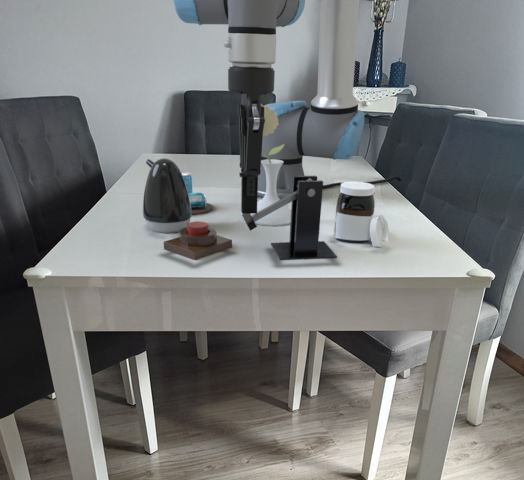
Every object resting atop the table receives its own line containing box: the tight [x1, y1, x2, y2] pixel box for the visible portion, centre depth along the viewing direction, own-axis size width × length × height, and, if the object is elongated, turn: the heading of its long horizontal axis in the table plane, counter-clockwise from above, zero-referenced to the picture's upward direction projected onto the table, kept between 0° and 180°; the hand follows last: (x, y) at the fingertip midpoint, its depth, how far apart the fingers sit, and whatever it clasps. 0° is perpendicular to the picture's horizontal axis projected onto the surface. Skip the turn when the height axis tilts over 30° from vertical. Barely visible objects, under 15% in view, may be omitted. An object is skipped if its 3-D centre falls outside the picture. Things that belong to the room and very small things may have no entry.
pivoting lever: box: [241, 178, 313, 231], centre depth 96 cm, size 14×6×2 cm, turn 101°
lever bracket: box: [270, 175, 338, 261], centre depth 98 cm, size 11×9×15 cm
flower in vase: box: [250, 103, 291, 227], centre depth 114 cm, size 13×11×25 cm
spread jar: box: [333, 181, 390, 248], centre depth 107 cm, size 12×11×12 cm
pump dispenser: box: [142, 157, 193, 234], centre depth 109 cm, size 10×10×15 cm
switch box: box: [163, 226, 233, 261], centre depth 100 cm, size 10×8×4 cm
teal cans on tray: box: [180, 171, 213, 216], centre depth 127 cm, size 12×12×8 cm
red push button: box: [187, 221, 209, 235], centre depth 99 cm, size 4×4×2 cm
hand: (249, 212), depth 95 cm, fingers closed
